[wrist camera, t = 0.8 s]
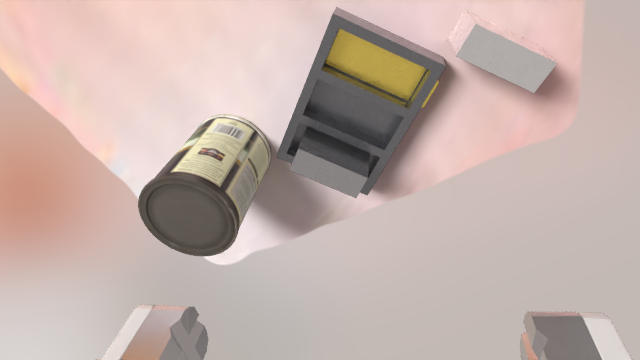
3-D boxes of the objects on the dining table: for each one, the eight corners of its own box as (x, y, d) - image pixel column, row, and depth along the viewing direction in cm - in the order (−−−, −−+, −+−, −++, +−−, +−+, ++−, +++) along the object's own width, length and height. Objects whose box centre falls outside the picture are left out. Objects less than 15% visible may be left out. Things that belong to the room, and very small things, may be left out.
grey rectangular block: (464, 9, 38) (475, 23, 33) (536, 44, 39) (557, 63, 34) (447, 38, 40) (455, 56, 35) (516, 71, 41) (534, 92, 36)
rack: (336, 7, 40) (327, 23, 34) (445, 58, 41) (454, 81, 35) (281, 144, 50) (267, 175, 44) (370, 182, 51) (368, 217, 45)
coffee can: (209, 185, 55) (161, 258, 44) (183, 118, 50) (120, 180, 38) (280, 181, 53) (249, 256, 41) (260, 109, 47) (218, 173, 36)
